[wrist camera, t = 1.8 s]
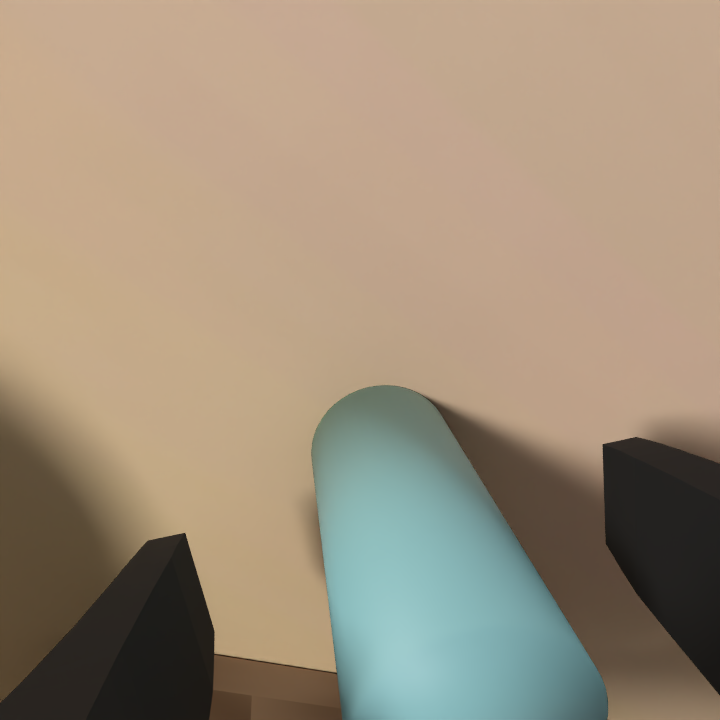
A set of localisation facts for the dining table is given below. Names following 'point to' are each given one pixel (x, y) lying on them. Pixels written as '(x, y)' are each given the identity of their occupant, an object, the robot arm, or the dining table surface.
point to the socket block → (272, 692)
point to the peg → (433, 578)
